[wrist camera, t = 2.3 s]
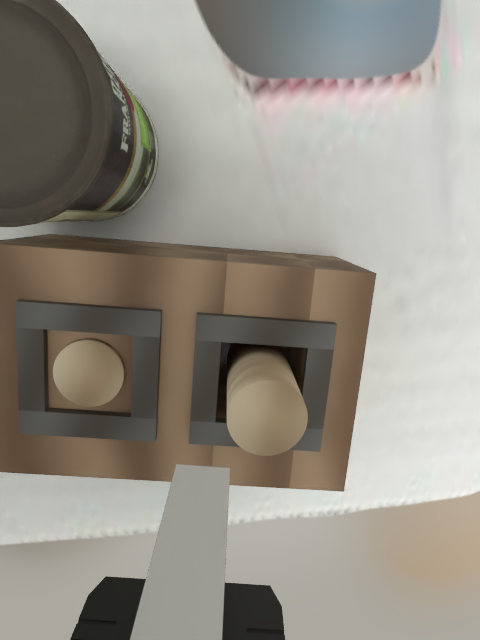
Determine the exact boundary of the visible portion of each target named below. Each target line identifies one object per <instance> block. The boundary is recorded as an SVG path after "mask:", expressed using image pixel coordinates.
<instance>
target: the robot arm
mask: <svg viewBox="0 0 480 640" xmlns="http://www.w3.org/2000/svg"><path fill="white" fill-rule="evenodd" d="M229 479H230V468H223V467H209V466H194V465H180V464H176V468H175V471H174V475H173V479H172V483H171V487H170V490H169V494H168V498H167V502H166V505H165V509H164V513H163V517H162V520H161V524H160V528H159V532H158V536H157V539H156V544H155V547H154V551H153V555H152V558H151V562H150V566H149V570H148V573H147V577H146V579H135V578H119V577H105V578H104V579H103V580H102V581H101V582H100V583H99V585H98V586H97V587H96V588H95V589H94V590H93V591H92V592H91V593H90V594H89V595H88V597H87V600H86V602H85V605H84V607H83V610H82V612H81V615H80V617H79V621H78V624H76V627H75V629H74V632H73V634H72V637H71V640H285V635H284V625H283V615H282V606H281V604H280V603H279V601H278V599H277V597H276V596H275V594H274V592H273V590H272V589H271V587H270V586H266V585H250V584H236V583H225V565H226V542H227V522H228V501H229Z"/></svg>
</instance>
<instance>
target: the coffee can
mask: <svg viewBox="0 0 480 640" xmlns="http://www.w3.org/2000/svg"><path fill="white" fill-rule="evenodd" d="M157 164H158V142H157V137H156V133H155V129H154V126H153V123H152V121H151V118H150V116H149V115H148V113H147V111H146V109H145V108H144V106H143V105H142V104H141V103H140V101H139V100H138V99H137V98H136V97H135V96H134V95H133V94H132V93H131V92H130V91H129V90H128V88H127V87H126V86H125V85H124V84H123V82H122V81H121V80H120V79H119V77H118V76H117V75H116V74H115V73H114V71H113V70H112V69H111V67H110V66H109V65H108V64H107V62H106V61H105V60H104V59H103V57H102V56H101V55H100V53H99V52H98V51H97V50H96V48H95V46H94V45H93V43H92V41H91V40H90V38H89V37H88V35H87V34H86V32H85V31H84V29H83V28H82V27H81V26H80V24H79V23H78V22H77V21H76V20H75V18H74V17H73V16H72V15H71V14H70V13H69V12H68V11H67V10H66V9H65V8H64V7H63V6H62V5H61V4H60V3H58V2H57V1H56V0H0V227H18V226H25V225H30V224H36V223H39V222H55V221H81V220H85V221H101V220H107V219H111V218H114V217H117V216H119V215H122V214H124V213H126V212H127V211H129V210H130V209H131V208H133V207H134V206H135V205H136V204H137V203H138V202H139V201H140V200H141V199H142V198H143V197H144V196H145V194H146V193H147V191H148V189H149V188H150V186H151V184H152V182H153V179H154V177H155V174H156V170H157Z"/></svg>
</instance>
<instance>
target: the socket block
mask: <svg viewBox="0 0 480 640" xmlns="http://www.w3.org/2000/svg"><path fill="white" fill-rule="evenodd" d="M375 278H376V273H374V272H371V271H369V270H366V269H364V268H361V267H359V266H357V265H354V264H352V263H349V262H347V261H344V260H342V259H340V258H337V257H331V256H318V255H306V254H293V253H281V252H268V251H255V250H243V249H230V248H218V247H205V246H192V245H180V244H167V243H155V242H142V241H129V240H117V239H104V238H92V237H79V236H66V235H54V234H48V235H40V236H32V237H24V238H16V239H8V240H0V472H9V473H27V474H45V475H62V476H80V477H98V478H115V479H133V480H151V481H169V482H172V479H173V475H174V471H175V468H176V464H180V465H194V466H209V467H223V468H230V479H229V485H239V486H257V487H275V488H293V489H310V490H328V491H344V486H345V479H346V473H347V466H348V459H349V453H350V446H351V439H352V432H353V426H354V419H355V412H356V406H357V399H358V392H359V386H360V379H361V372H362V366H363V359H364V352H365V345H366V339H367V332H368V325H369V319H370V312H371V305H372V299H373V292H374V285H375ZM221 342H230V343H244V344H258V345H272V346H282V348H283V351H284V353H285V355H286V358H287V360H288V363H289V365H290V368H291V370H292V373H293V375H294V378H295V380H296V383H297V385H298V388H299V390H300V393H301V395H302V398H303V400H304V402H305V405H306V408H307V413H308V422H307V427H306V430H305V432H304V434H303V436H302V438H301V439H300V440H299V441H298V443H297V444H296V445H294V446H293V447H292V448H290V449H289V450H287V451H285V452H283V453H280V454H277V455H272V456H260V455H255V454H252V453H249V452H247V451H245V450H244V449H242V448H241V447H240V446H238V445H237V444H236V443H235V441H234V440H233V439H232V437H231V435H230V433H229V431H228V427H227V365H220V353H221Z"/></svg>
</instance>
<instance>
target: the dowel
mask: <svg viewBox="0 0 480 640" xmlns="http://www.w3.org/2000/svg"><path fill="white" fill-rule="evenodd" d="M307 422H308V413H307V408H306V405H305V402H304V400H303V398H302V395H301V393H300V390H299V388H298V385H297V383H296V380H295V378H294V375H293V373H292V370H291V368H290V365H289V363H288V360H287V358H286V355H285V353H284V351H283V348H282V346H272V345H258V344H244V343H233V345H232V346H231V348H230V350H229V352H228V355H227V427H228V431H229V433H230V435H231V437H232V439H233V440H234V441H235V443H236V444H237V445H238V446H240V447H241V448H242V449H244V450H245V451H247V452H249V453H252V454H255V455H260V456H272V455H277V454H280V453H283V452H285V451H287V450H289V449H290V448H292V447H293V446H294V445H296V444H297V443H298V441H299V440H300V439H301V438H302V436H303V434H304V432H305V430H306V427H307Z"/></svg>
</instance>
